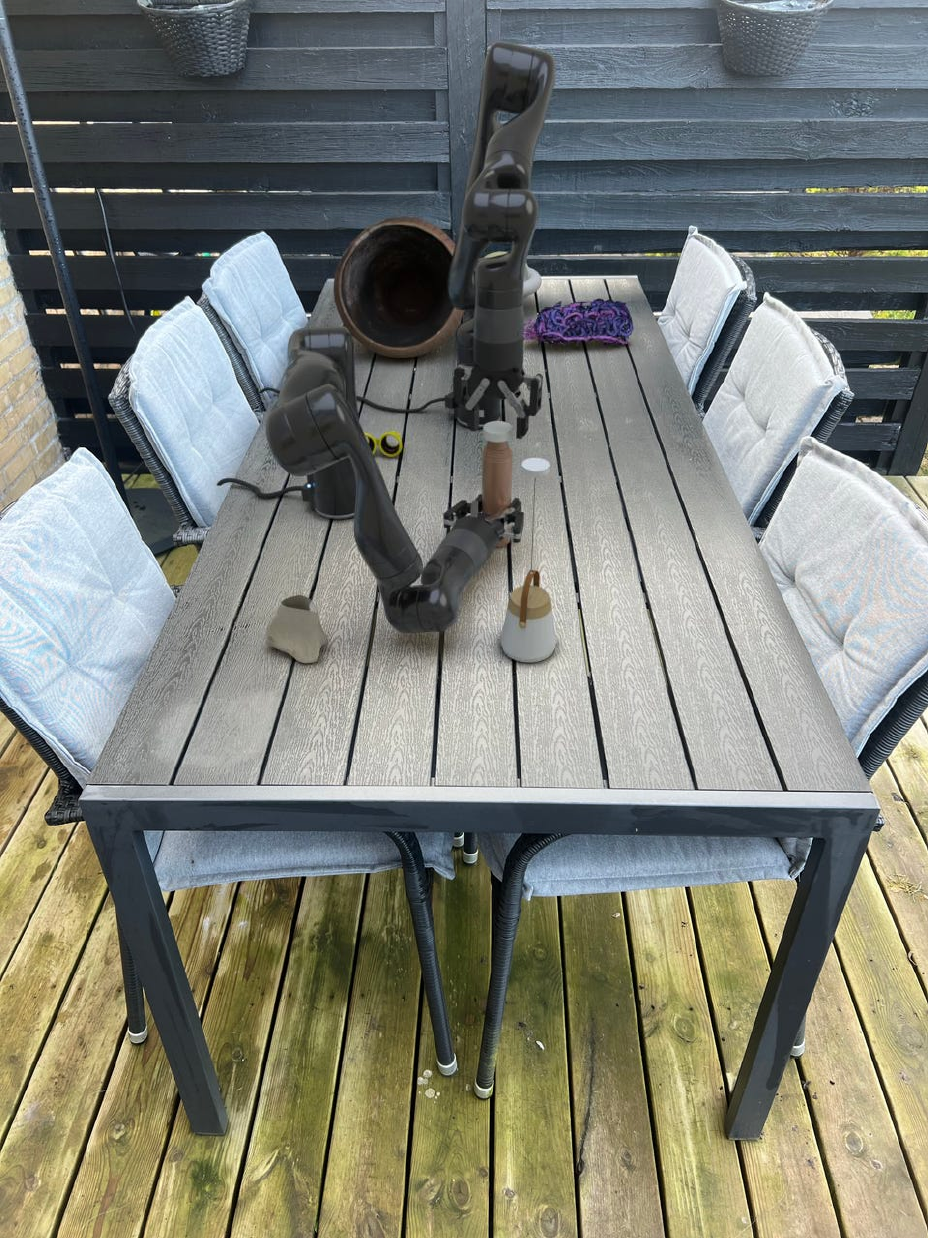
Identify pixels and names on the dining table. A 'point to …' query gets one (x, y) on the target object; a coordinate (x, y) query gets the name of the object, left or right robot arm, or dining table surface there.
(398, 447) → the opera glasses
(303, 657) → the grey hollow flared piece
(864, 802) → the dining table surface
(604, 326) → the decorative ornament
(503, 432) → the cap
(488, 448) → the bottle
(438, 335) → the pot
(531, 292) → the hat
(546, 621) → the pendant light
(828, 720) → the dining table surface
